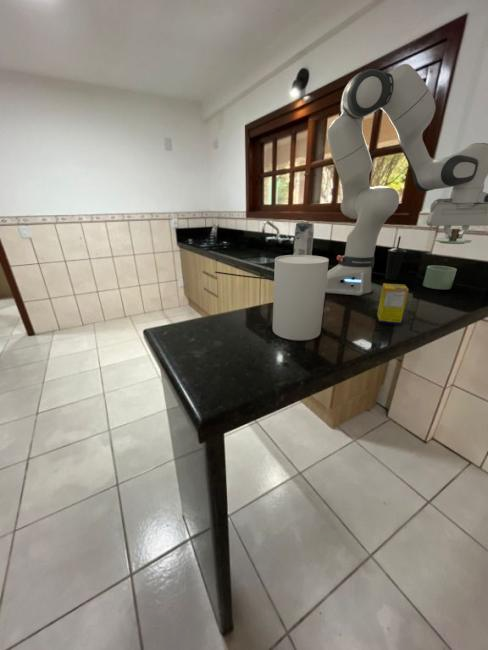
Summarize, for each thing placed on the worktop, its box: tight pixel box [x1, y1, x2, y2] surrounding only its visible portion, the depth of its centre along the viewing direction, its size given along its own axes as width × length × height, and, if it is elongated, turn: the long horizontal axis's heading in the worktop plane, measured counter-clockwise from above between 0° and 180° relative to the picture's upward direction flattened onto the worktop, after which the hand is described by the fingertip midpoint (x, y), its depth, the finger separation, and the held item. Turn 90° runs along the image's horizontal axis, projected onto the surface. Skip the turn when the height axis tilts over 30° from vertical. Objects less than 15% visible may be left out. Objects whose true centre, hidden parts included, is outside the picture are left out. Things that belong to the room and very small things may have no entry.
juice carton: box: [293, 219, 315, 255], centre depth 141 cm, size 9×10×27 cm
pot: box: [422, 265, 458, 290], centre depth 113 cm, size 10×10×8 cm
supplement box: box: [376, 282, 409, 326], centre depth 79 cm, size 6×6×11 cm
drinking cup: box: [384, 235, 407, 281], centre depth 125 cm, size 8×8×20 cm
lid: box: [434, 228, 472, 245], centre depth 99 cm, size 11×11×5 cm
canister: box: [271, 254, 330, 341], centre depth 71 cm, size 14×14×20 cm
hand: (453, 238), depth 99 cm, fingers closed on lid, 2 cm apart
